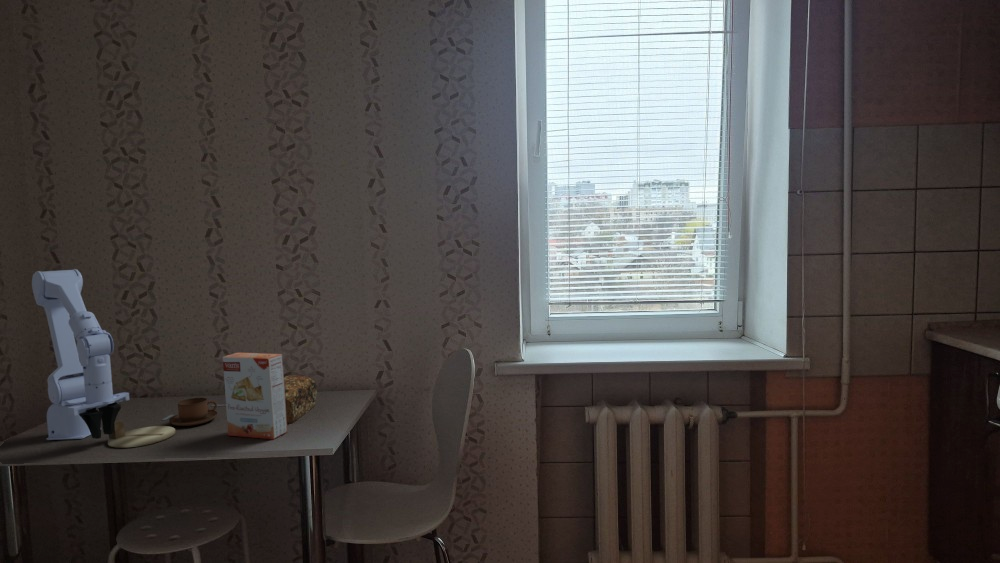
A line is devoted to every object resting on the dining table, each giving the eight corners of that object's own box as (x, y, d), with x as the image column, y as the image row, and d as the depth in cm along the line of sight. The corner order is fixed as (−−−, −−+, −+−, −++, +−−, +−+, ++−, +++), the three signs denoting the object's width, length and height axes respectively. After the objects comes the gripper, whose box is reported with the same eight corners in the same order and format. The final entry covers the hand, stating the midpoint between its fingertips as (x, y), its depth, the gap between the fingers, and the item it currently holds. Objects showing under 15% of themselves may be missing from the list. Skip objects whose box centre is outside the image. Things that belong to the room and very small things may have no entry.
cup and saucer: (201, 414, 177) (199, 393, 176) (226, 419, 171) (225, 398, 170) (160, 426, 167) (158, 404, 166) (186, 432, 160) (184, 409, 160)
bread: (285, 405, 183) (283, 373, 182) (319, 405, 182) (317, 372, 181) (256, 425, 164) (253, 389, 163) (294, 424, 163) (291, 388, 163)
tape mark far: (211, 406, 184) (211, 405, 184) (212, 405, 185) (212, 405, 185) (227, 405, 184) (227, 405, 184) (228, 404, 185) (228, 404, 185)
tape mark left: (161, 420, 171) (161, 419, 171) (170, 415, 176) (170, 414, 176) (165, 420, 171) (165, 419, 171) (174, 415, 176) (174, 414, 176)
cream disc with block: (93, 448, 148) (92, 430, 148) (131, 429, 163) (130, 412, 163) (154, 446, 148) (152, 428, 148) (186, 427, 163) (185, 410, 163)
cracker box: (226, 437, 154) (220, 356, 153) (243, 429, 160) (237, 351, 158) (273, 440, 150) (267, 357, 149) (288, 432, 156) (283, 352, 154)
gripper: (80, 390, 142) (85, 447, 143) (136, 376, 156) (140, 428, 157) (60, 389, 144) (64, 444, 145) (116, 375, 158) (120, 426, 159)
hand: (102, 435), depth 151 cm, fingers open, 3 cm apart
